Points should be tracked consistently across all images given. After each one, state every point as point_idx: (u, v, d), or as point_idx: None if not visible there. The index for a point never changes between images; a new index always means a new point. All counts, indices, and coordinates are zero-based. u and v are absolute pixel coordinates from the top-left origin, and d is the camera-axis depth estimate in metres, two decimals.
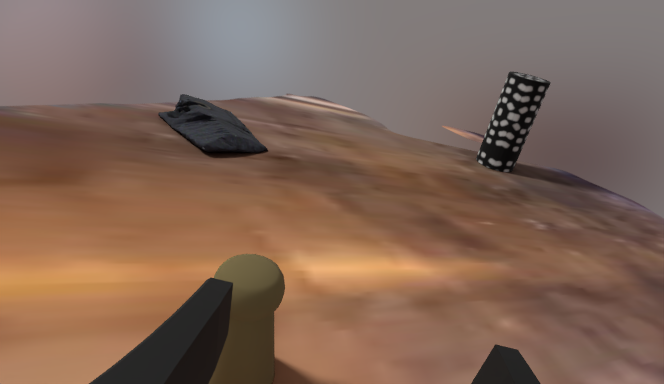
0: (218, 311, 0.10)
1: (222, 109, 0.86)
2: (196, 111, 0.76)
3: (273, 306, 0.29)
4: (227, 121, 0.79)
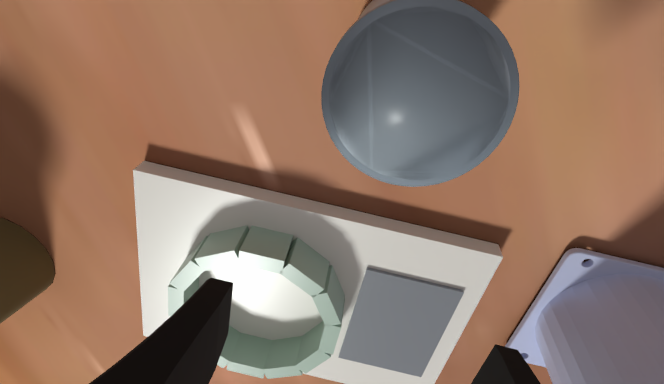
0: (218, 311, 0.10)
1: None
2: None
3: None
4: None
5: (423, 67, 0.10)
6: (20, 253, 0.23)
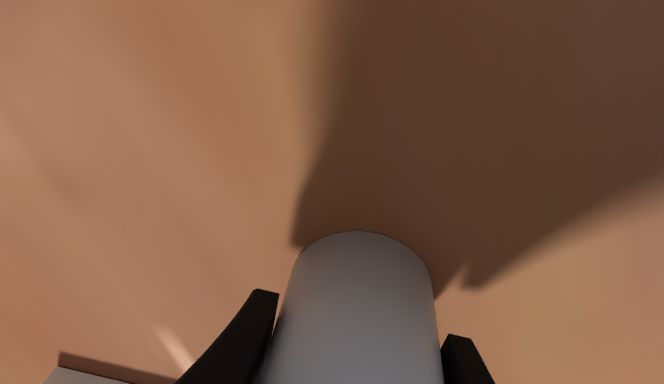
0: (269, 323, 0.10)
1: None
2: None
3: None
4: None
5: None
6: None
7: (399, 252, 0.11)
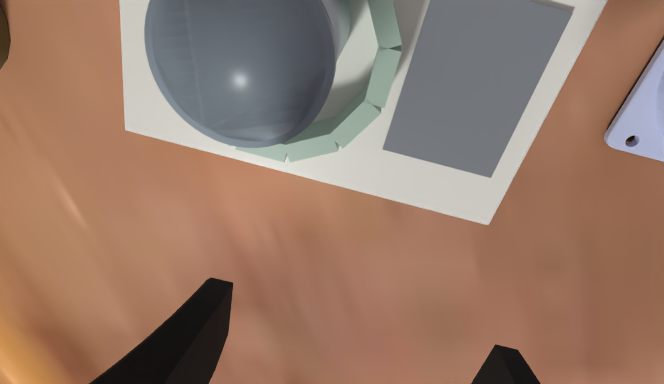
0: (218, 311, 0.10)
1: None
2: None
3: None
4: None
5: (239, 22, 0.10)
6: None
7: None
